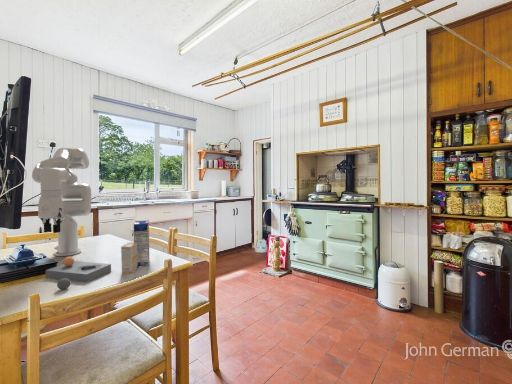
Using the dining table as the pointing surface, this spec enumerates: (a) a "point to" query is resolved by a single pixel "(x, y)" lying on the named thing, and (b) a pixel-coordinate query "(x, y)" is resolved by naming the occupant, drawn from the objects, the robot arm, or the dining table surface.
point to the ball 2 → (63, 283)
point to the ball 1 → (68, 261)
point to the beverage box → (142, 242)
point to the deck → (79, 271)
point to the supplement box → (129, 257)
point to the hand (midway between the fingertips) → (52, 231)
